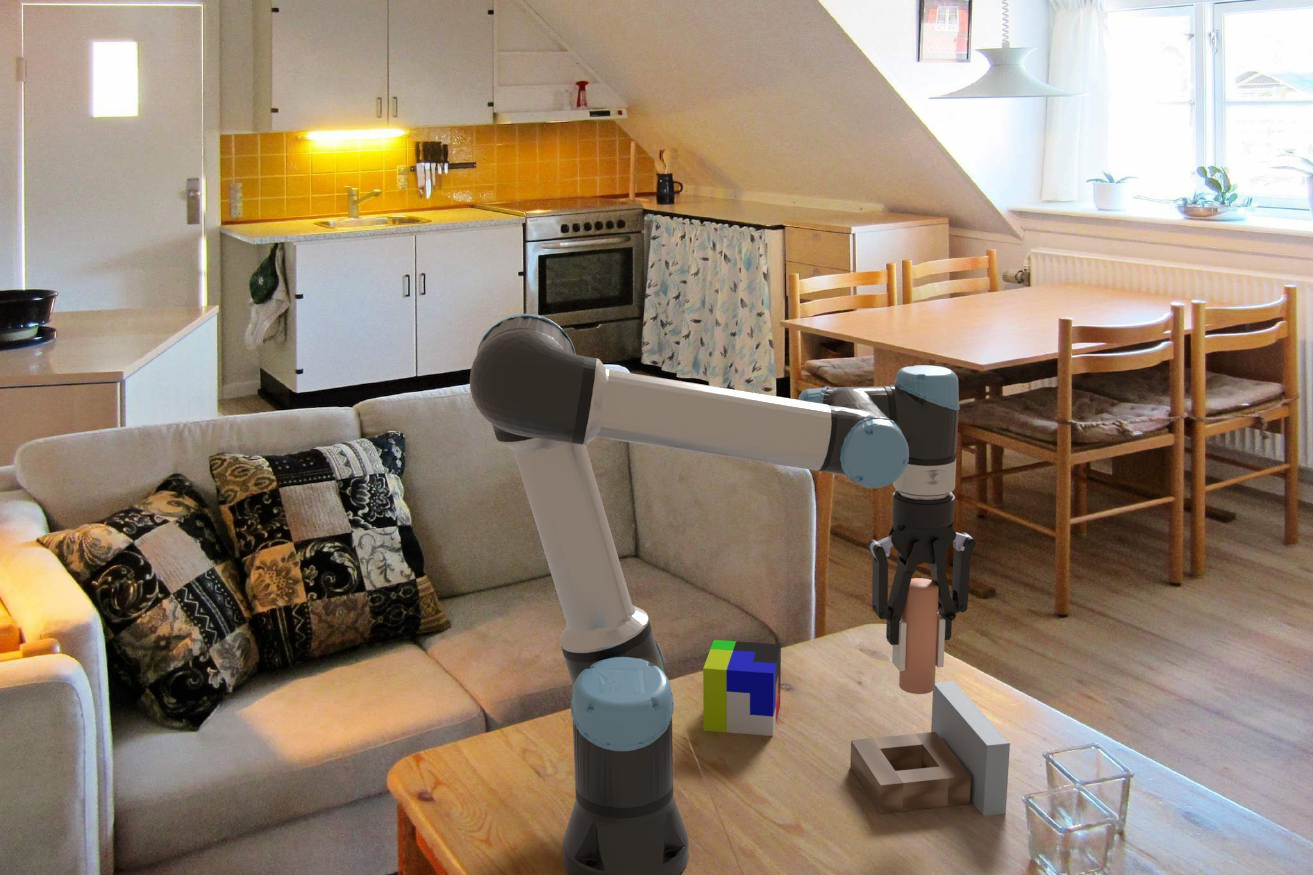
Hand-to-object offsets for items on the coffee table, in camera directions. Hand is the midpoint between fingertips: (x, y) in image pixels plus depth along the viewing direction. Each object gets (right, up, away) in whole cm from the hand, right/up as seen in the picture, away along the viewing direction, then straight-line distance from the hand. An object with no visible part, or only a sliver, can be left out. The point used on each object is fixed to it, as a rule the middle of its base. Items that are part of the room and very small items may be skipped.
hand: (917, 664), depth 165 cm
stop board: (+8, -16, +6) cm, 19 cm away
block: (0, -17, +4) cm, 17 cm away
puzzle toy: (-21, -12, +24) cm, 34 cm away
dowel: (0, -3, +1) cm, 3 cm away
